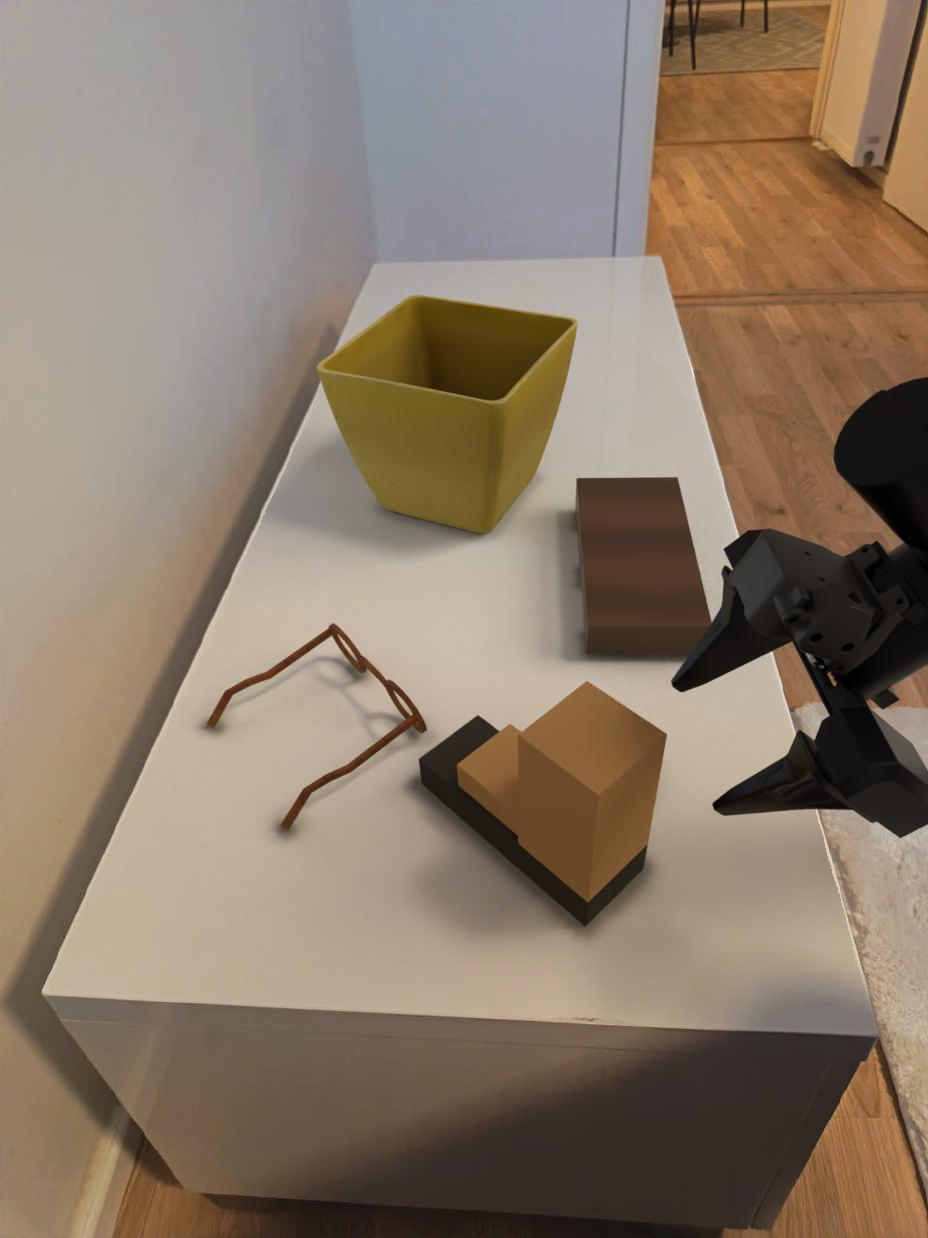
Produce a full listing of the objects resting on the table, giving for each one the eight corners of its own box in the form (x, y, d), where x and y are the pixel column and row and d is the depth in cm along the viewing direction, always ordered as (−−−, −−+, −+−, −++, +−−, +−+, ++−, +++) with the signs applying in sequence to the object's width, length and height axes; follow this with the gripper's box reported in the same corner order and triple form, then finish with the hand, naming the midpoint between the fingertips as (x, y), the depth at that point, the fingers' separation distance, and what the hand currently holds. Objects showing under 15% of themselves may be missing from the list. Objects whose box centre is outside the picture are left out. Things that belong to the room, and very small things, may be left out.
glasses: (432, 743, 68) (427, 699, 64) (284, 833, 62) (270, 791, 59) (343, 652, 76) (335, 609, 72) (205, 725, 70) (189, 682, 67)
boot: (643, 869, 59) (667, 733, 49) (585, 927, 56) (598, 795, 46) (479, 740, 68) (472, 604, 58) (421, 784, 65) (404, 649, 55)
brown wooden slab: (706, 662, 73) (713, 626, 70) (585, 661, 74) (588, 626, 71) (673, 509, 89) (677, 476, 86) (574, 510, 90) (576, 477, 87)
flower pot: (423, 431, 103) (411, 290, 92) (574, 464, 96) (581, 316, 85) (337, 518, 91) (311, 367, 79) (504, 563, 84) (501, 405, 73)
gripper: (791, 400, 47) (576, 575, 54) (961, 638, 33) (641, 831, 40) (893, 511, 52) (686, 656, 59) (1077, 756, 38) (777, 907, 45)
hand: (694, 744), depth 51 cm, fingers open, 9 cm apart
